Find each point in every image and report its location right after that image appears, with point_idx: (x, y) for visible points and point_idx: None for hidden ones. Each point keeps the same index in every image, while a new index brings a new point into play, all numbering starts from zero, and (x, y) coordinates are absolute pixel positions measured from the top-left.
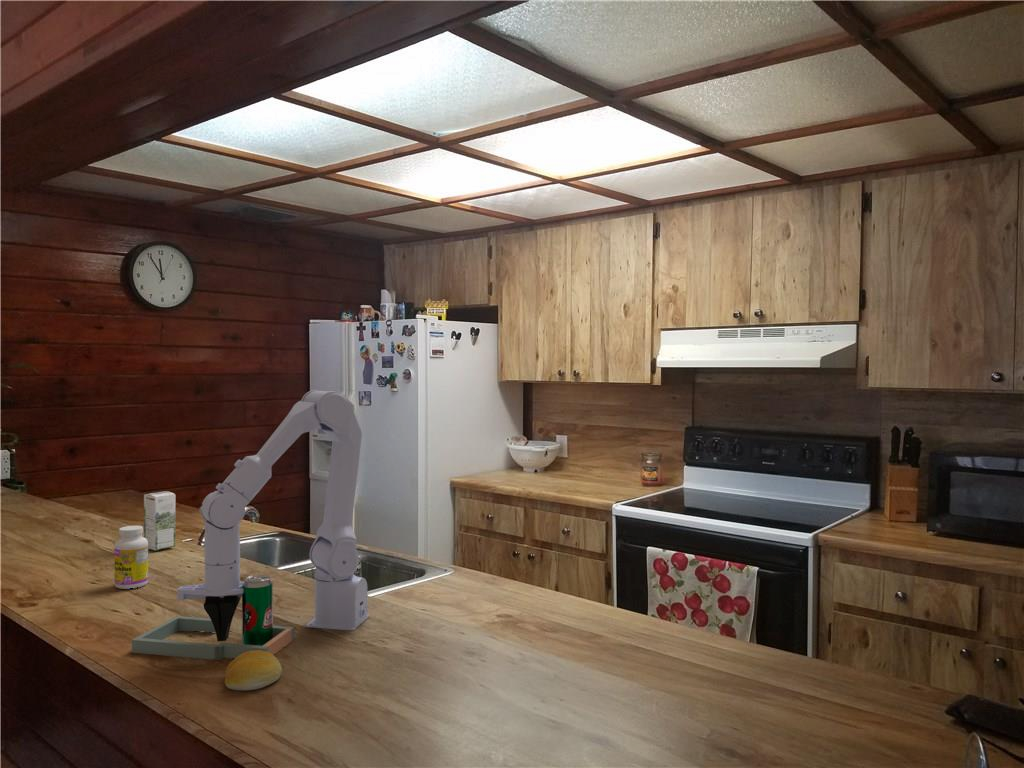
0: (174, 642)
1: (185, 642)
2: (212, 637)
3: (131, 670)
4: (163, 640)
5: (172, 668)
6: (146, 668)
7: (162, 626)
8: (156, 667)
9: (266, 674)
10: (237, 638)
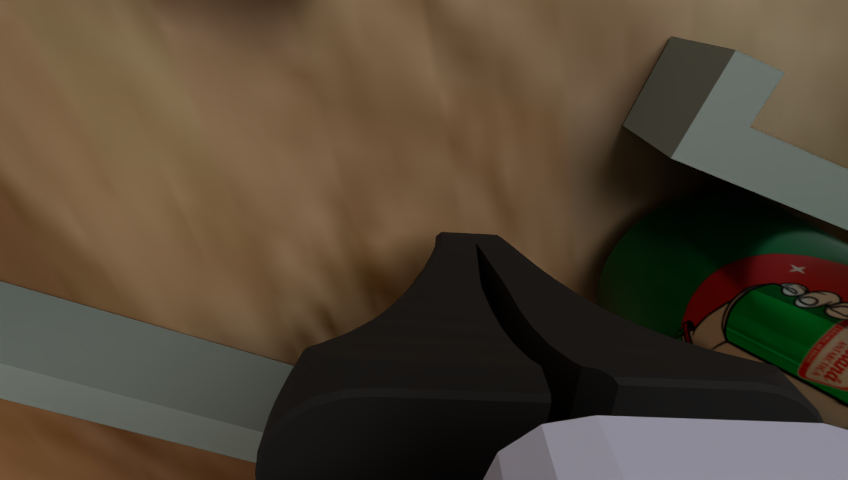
0: (150, 421)
1: (233, 431)
2: (326, 14)
3: (38, 473)
4: (42, 382)
5: (248, 477)
6: (106, 462)
7: None
8: (155, 458)
9: None
10: (541, 77)
